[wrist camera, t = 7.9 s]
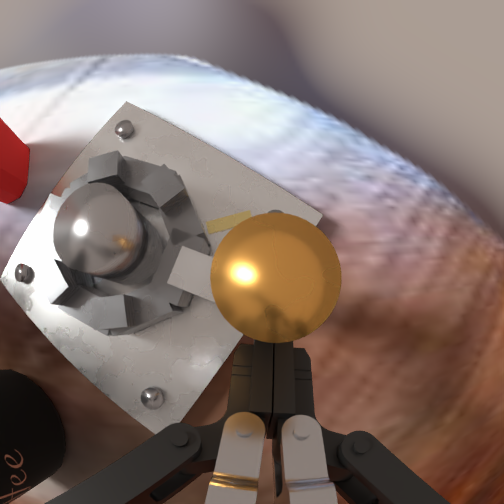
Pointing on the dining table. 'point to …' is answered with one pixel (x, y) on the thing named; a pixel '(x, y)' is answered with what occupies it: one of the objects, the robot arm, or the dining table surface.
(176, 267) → the spiky gray ring
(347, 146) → the dining table surface
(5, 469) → the coffee jar
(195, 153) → the flange plate
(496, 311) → the dining table surface
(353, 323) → the dining table surface
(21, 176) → the french fries
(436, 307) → the dining table surface
